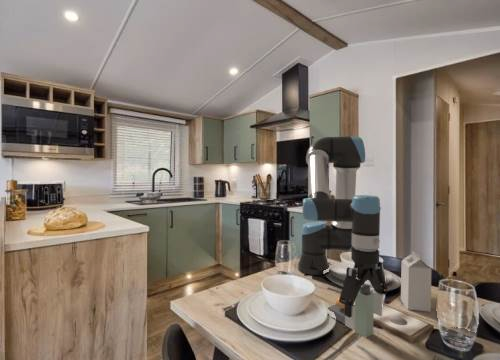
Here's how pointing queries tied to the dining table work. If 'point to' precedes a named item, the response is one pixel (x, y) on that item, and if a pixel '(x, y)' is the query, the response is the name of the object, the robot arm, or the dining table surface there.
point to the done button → (339, 302)
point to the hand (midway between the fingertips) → (364, 320)
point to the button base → (338, 313)
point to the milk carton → (415, 283)
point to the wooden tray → (402, 324)
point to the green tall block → (364, 311)
